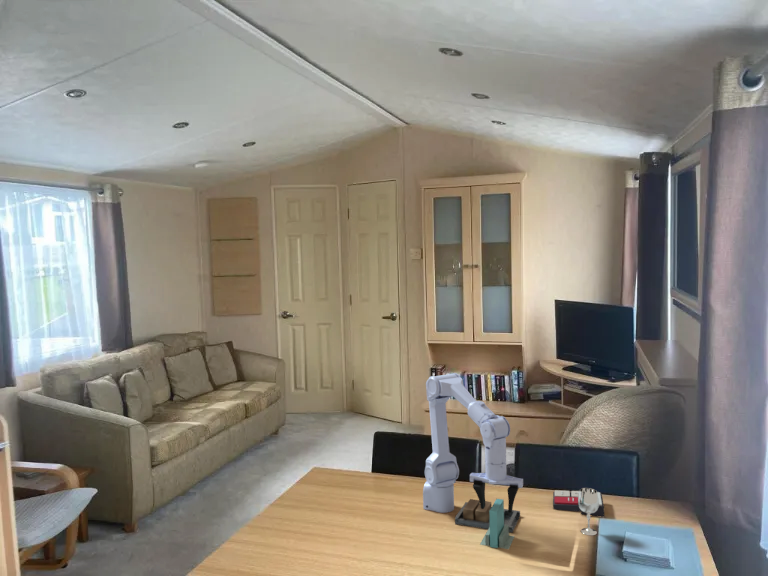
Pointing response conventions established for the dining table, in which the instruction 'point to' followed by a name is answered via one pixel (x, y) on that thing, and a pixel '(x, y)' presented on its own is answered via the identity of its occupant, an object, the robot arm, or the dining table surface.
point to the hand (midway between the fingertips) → (496, 509)
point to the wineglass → (588, 506)
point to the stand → (503, 538)
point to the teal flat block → (496, 522)
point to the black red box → (574, 502)
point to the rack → (509, 520)
